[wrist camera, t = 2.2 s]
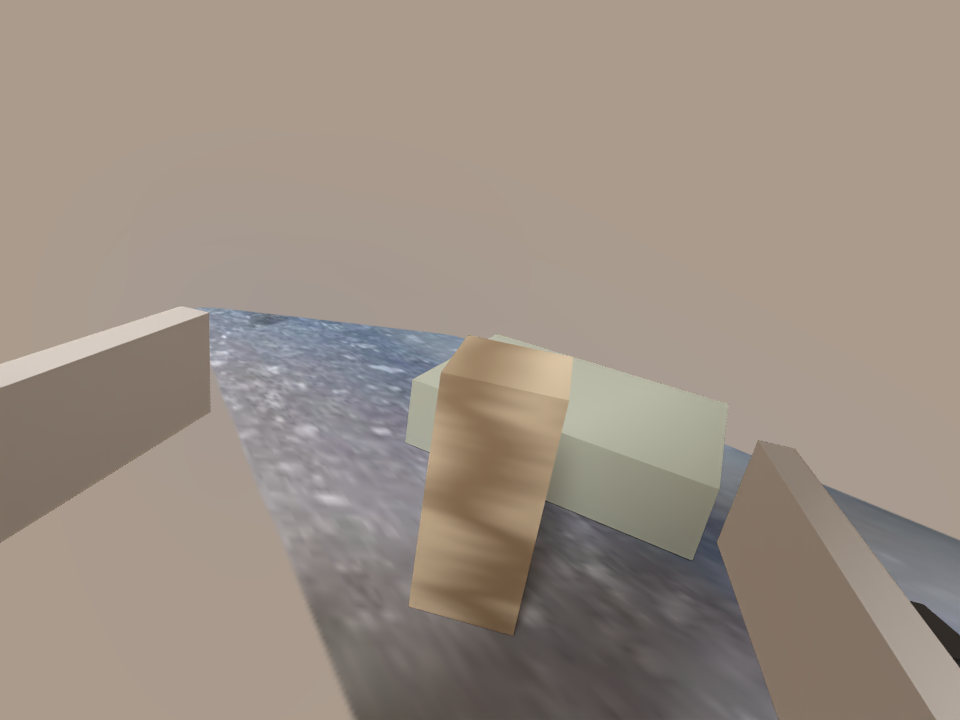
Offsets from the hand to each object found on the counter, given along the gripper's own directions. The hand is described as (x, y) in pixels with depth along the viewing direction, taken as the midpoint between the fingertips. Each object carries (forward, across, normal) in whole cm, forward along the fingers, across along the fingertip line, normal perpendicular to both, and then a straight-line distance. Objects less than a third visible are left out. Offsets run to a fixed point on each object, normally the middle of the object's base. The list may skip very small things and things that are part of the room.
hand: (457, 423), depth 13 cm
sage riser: (+26, +5, -14) cm, 29 cm away
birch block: (+10, 0, -14) cm, 17 cm away
